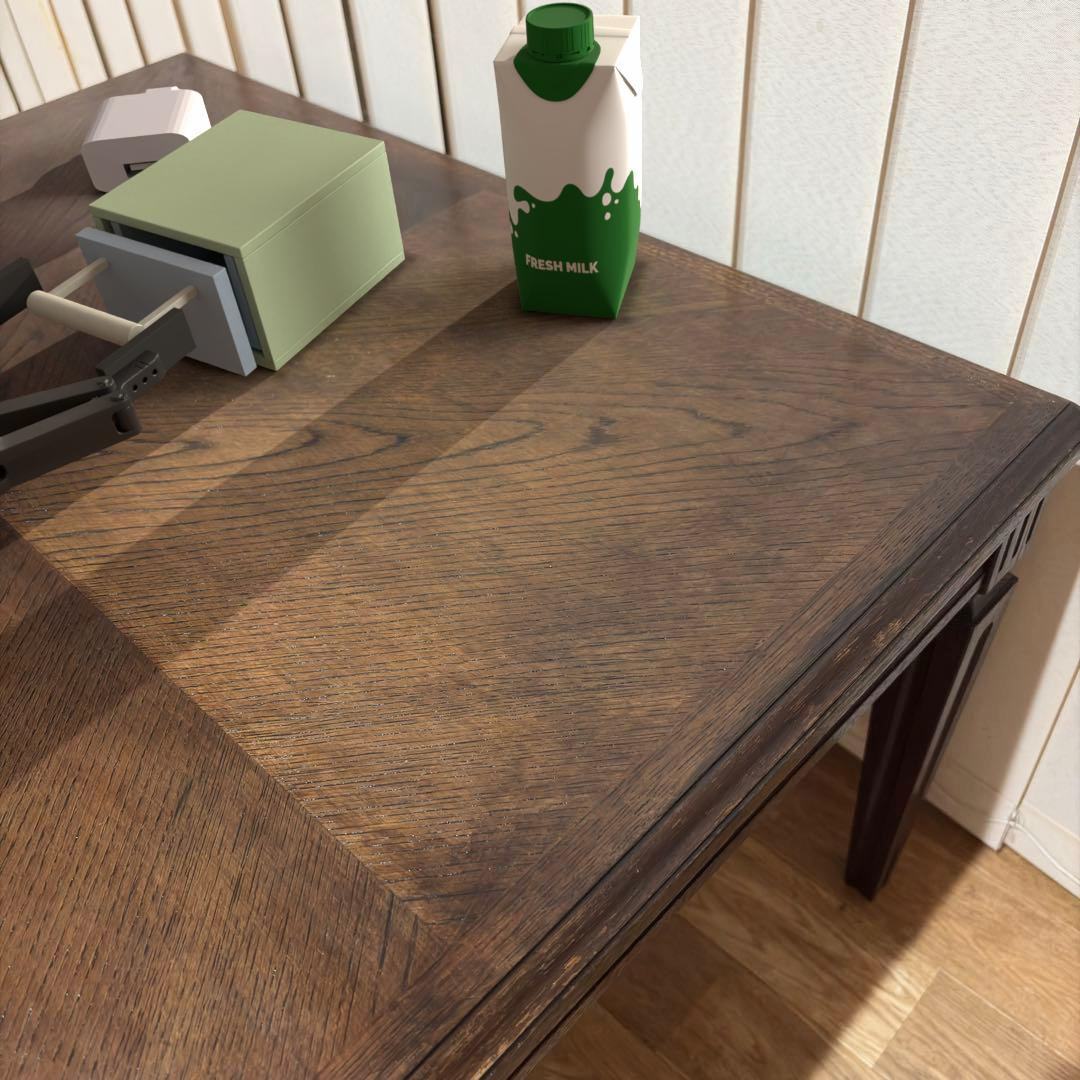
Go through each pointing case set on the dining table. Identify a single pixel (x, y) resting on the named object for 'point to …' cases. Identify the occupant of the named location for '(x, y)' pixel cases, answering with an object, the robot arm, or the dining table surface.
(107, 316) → the drawer
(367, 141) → the cabinet
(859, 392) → the dining table surface
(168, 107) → the charger
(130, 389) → the robot arm
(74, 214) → the dining table surface
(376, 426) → the dining table surface
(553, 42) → the milk carton
